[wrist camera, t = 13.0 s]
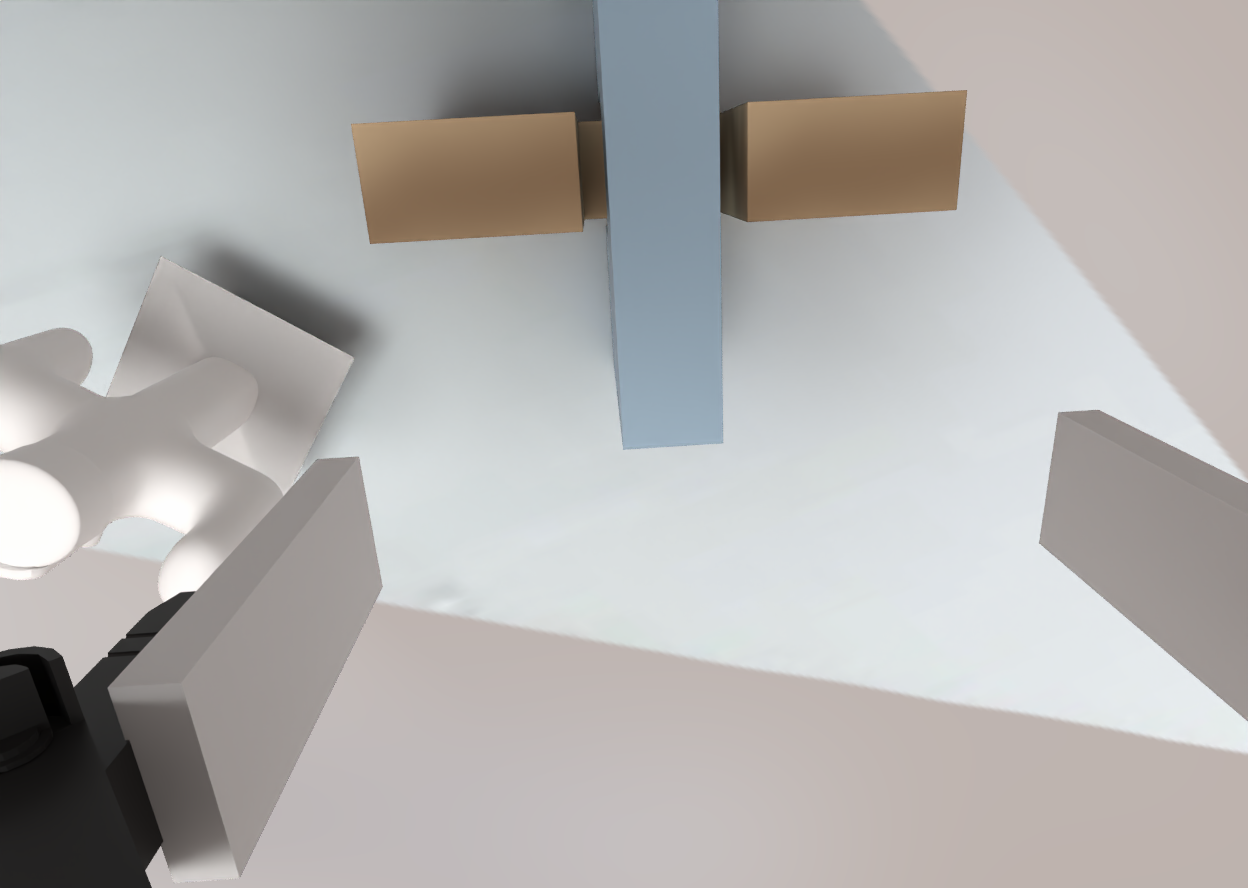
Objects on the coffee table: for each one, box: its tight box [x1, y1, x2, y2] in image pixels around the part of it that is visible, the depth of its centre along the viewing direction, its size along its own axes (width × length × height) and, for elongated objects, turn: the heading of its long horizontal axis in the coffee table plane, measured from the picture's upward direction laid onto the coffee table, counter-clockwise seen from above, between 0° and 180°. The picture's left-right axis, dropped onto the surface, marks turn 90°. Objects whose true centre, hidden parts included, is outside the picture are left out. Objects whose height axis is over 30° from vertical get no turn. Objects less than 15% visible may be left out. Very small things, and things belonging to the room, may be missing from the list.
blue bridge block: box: [593, 0, 723, 450], centre depth 25 cm, size 16×3×10 cm, turn 3°
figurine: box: [0, 256, 354, 602], centre depth 25 cm, size 7×9×15 cm
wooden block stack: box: [351, 90, 967, 244], centre depth 25 cm, size 3×16×10 cm, turn 93°
